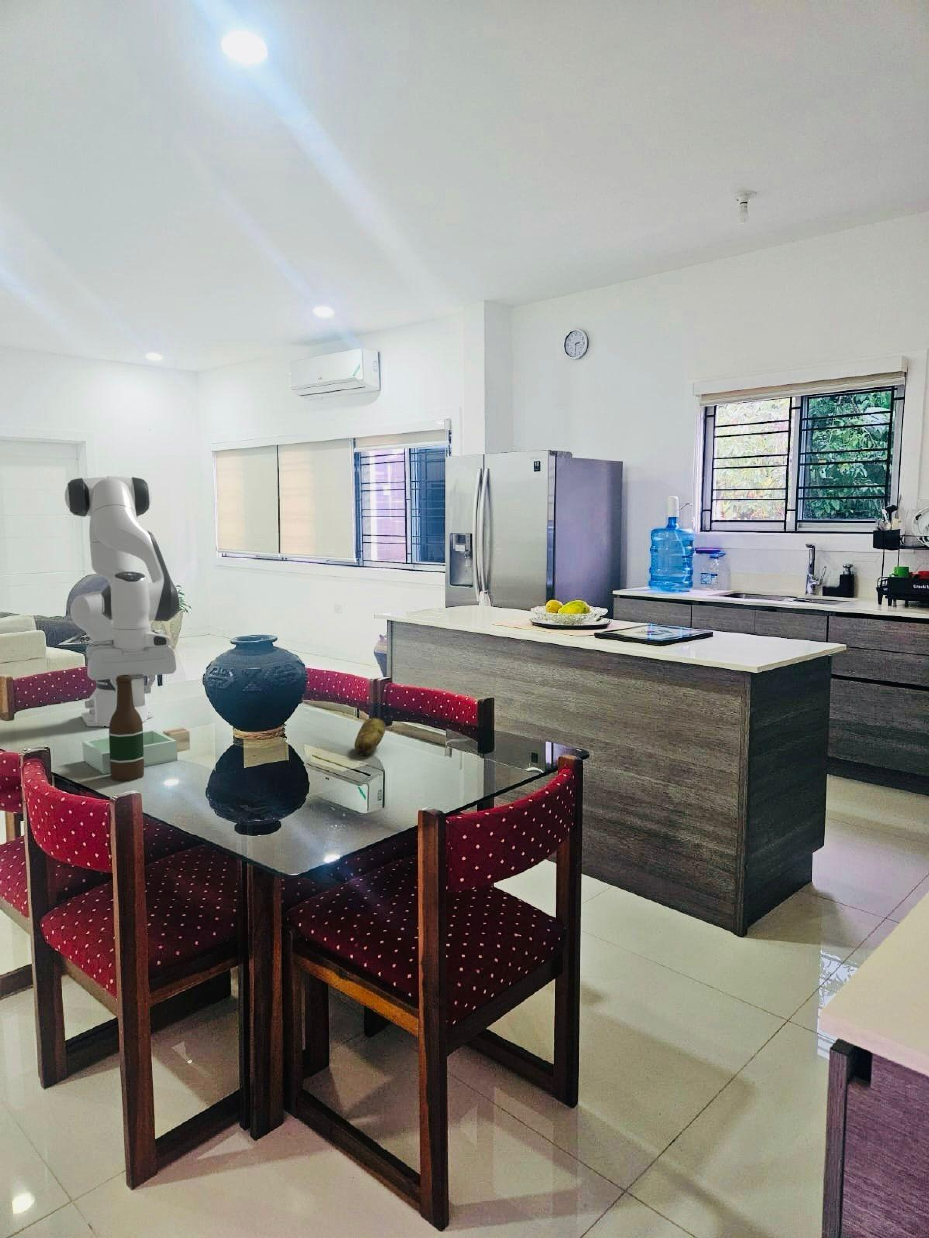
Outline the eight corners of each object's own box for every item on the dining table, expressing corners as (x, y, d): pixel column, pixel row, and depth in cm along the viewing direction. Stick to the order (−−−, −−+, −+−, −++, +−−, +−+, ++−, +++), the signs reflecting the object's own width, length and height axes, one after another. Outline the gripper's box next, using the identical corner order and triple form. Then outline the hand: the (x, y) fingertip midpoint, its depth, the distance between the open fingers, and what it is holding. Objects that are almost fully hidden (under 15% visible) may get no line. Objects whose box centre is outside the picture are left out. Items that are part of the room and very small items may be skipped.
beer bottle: (118, 770, 194) (115, 672, 192) (151, 771, 194) (147, 672, 191) (103, 781, 187) (99, 678, 184) (137, 782, 186) (133, 679, 184)
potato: (341, 754, 211) (341, 724, 210) (370, 742, 222) (370, 714, 221) (367, 759, 207) (367, 728, 206) (395, 747, 218) (395, 718, 217)
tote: (83, 760, 202) (82, 741, 201) (155, 748, 214) (154, 729, 213) (102, 774, 192) (102, 753, 191) (177, 760, 204) (176, 740, 203)
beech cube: (163, 748, 214) (162, 730, 213) (181, 745, 217) (181, 727, 216) (171, 753, 210) (170, 734, 209) (189, 749, 213) (189, 731, 213)
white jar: (124, 708, 197) (123, 676, 196) (120, 703, 202) (119, 673, 201) (147, 705, 200) (146, 674, 199) (142, 701, 204) (141, 671, 204)
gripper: (87, 643, 191) (89, 701, 192) (177, 638, 202) (178, 692, 204) (83, 640, 196) (85, 696, 197) (170, 634, 207) (172, 687, 209)
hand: (133, 694), depth 201 cm, fingers closed on white jar, 5 cm apart
